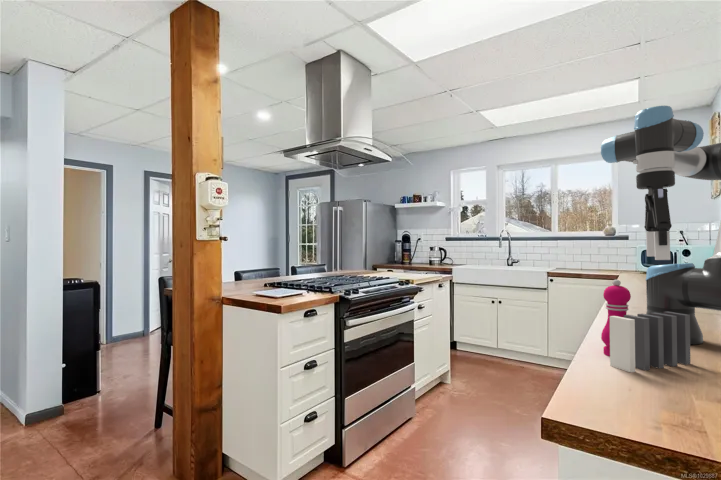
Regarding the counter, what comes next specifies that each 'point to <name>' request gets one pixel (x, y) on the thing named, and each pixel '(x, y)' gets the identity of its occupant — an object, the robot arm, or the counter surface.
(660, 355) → the domino
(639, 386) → the counter surface
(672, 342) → the domino
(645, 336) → the domino
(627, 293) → the pepper mill
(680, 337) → the domino
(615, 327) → the white domino
